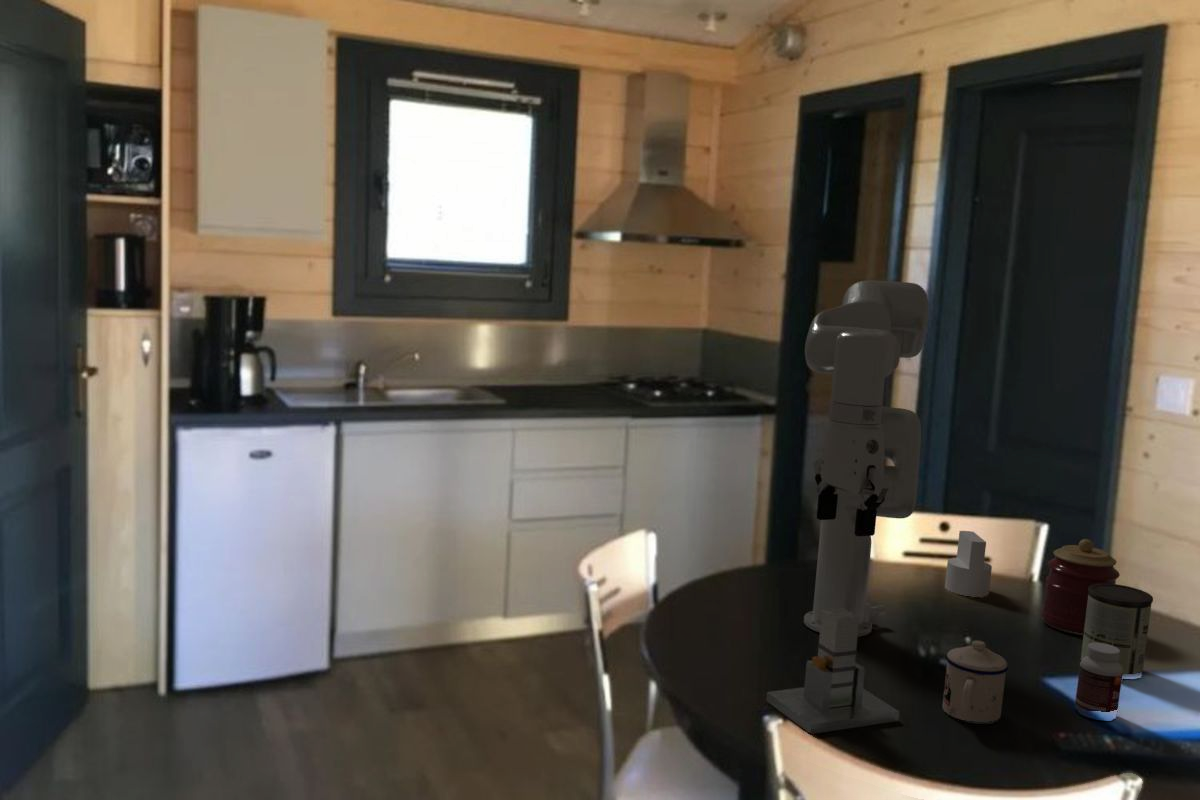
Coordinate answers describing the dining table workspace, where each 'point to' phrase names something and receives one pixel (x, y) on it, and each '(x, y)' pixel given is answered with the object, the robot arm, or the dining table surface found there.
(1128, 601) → the coffee can
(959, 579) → the cylinder with rectangular tab
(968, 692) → the teacup with lid
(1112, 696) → the pill bottle
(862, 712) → the stand
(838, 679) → the column
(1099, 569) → the canister
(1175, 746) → the dining table surface
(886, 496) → the robot arm
